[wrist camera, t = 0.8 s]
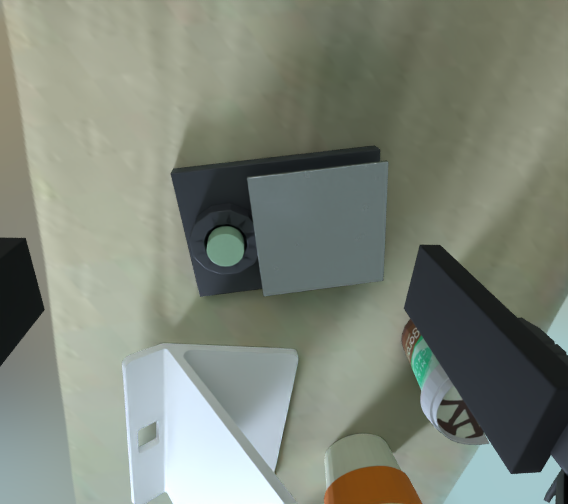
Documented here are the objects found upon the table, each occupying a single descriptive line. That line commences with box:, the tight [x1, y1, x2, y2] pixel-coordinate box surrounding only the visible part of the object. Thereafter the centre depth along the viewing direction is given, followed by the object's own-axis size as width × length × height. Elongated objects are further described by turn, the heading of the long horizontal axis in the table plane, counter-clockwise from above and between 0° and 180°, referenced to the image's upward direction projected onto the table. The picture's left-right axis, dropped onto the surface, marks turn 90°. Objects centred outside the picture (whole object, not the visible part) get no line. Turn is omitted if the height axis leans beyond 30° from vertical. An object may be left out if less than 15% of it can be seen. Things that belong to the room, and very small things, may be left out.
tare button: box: [207, 226, 244, 266], centre depth 31 cm, size 3×3×2 cm
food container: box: [402, 319, 489, 445], centre depth 38 cm, size 12×6×10 cm, turn 8°
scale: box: [171, 146, 380, 297], centre depth 33 cm, size 12×17×3 cm
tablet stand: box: [122, 343, 299, 504], centre depth 39 cm, size 18×25×17 cm
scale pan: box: [247, 161, 388, 296], centre depth 32 cm, size 11×11×1 cm
